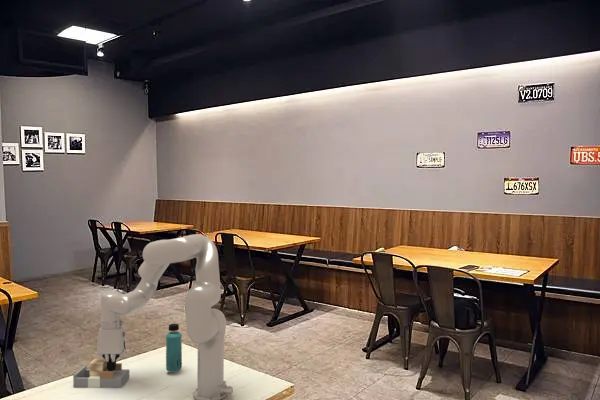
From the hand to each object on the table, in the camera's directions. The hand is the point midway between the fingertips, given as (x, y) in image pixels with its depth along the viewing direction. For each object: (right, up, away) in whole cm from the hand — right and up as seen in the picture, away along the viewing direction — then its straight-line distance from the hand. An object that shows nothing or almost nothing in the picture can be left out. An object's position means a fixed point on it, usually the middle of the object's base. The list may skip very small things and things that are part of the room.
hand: (111, 370), depth 181 cm
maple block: (-5, -1, 0) cm, 5 cm away
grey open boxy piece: (-4, -5, 0) cm, 6 cm away
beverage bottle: (+21, -5, +11) cm, 24 cm away
